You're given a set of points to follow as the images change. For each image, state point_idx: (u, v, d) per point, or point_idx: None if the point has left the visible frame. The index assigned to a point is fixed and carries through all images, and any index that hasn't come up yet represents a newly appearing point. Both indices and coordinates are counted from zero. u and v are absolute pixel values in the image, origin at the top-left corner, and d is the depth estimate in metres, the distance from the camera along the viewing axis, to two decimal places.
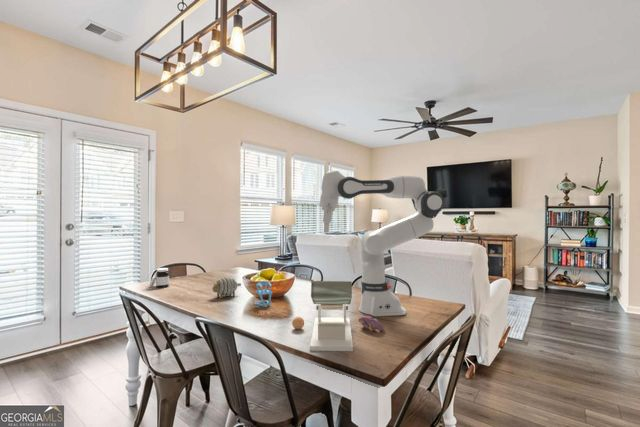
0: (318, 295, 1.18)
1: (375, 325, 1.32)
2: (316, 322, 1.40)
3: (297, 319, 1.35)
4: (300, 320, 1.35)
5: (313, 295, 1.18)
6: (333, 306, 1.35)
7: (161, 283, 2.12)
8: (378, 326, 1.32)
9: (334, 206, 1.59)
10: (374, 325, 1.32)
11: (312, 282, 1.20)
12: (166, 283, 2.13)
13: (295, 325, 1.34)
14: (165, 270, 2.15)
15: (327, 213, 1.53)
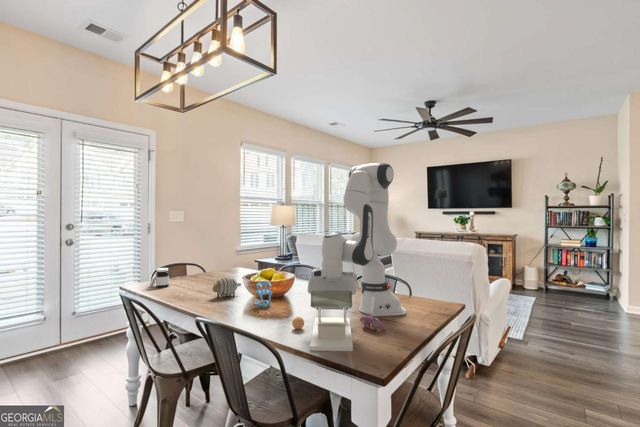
0: (318, 305, 1.17)
1: (376, 324, 1.33)
2: (316, 322, 1.40)
3: (297, 319, 1.35)
4: (300, 320, 1.35)
5: (313, 305, 1.17)
6: None
7: (161, 283, 2.12)
8: (379, 325, 1.33)
9: None
10: (375, 324, 1.33)
11: (312, 291, 1.18)
12: (166, 283, 2.13)
13: (295, 325, 1.34)
14: (165, 270, 2.15)
15: None
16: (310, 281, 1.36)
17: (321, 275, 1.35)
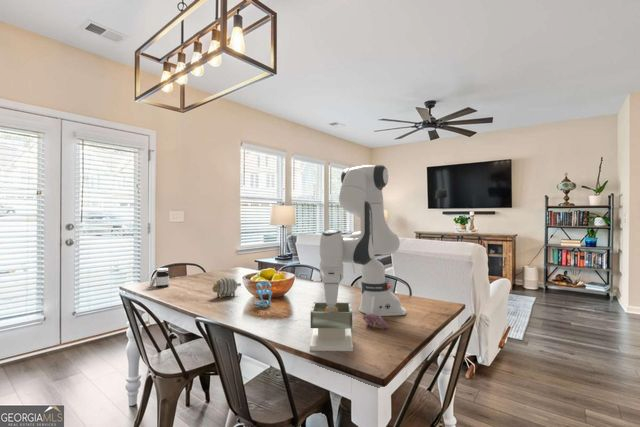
0: (318, 327, 1.16)
1: (380, 323, 1.35)
2: None
3: None
4: (334, 305, 1.25)
5: (313, 327, 1.16)
6: None
7: (161, 283, 2.12)
8: (382, 324, 1.35)
9: None
10: (378, 323, 1.35)
11: (311, 313, 1.16)
12: (166, 283, 2.13)
13: None
14: (165, 270, 2.15)
15: None
16: None
17: (341, 278, 1.19)
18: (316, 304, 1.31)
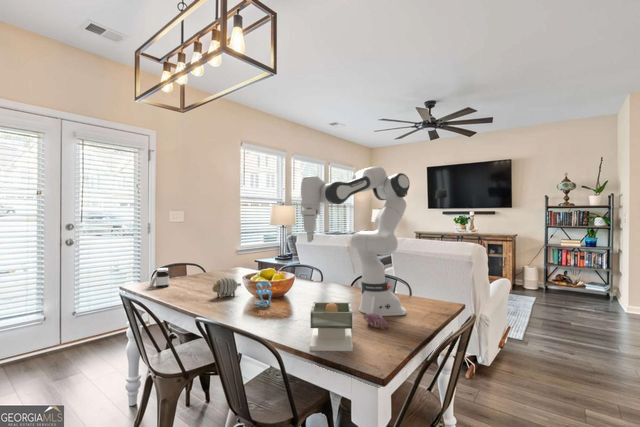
0: (318, 327, 1.16)
1: (381, 322, 1.35)
2: None
3: None
4: None
5: (313, 327, 1.16)
6: None
7: (161, 283, 2.12)
8: (383, 323, 1.35)
9: None
10: (379, 322, 1.35)
11: (311, 313, 1.16)
12: (166, 283, 2.13)
13: (329, 303, 1.28)
14: (165, 270, 2.15)
15: None
16: (314, 219, 1.43)
17: (317, 213, 1.47)
18: (316, 304, 1.31)
